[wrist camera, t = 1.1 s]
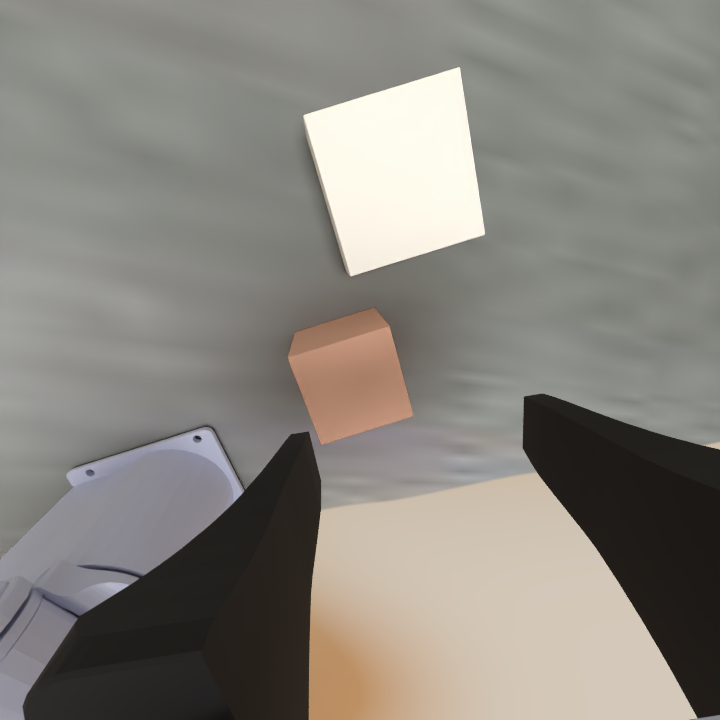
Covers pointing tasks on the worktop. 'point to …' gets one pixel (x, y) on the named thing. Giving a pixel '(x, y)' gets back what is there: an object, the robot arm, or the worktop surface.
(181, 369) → the worktop surface
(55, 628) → the robot arm
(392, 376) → the terracotta cube
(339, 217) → the cream plinth
